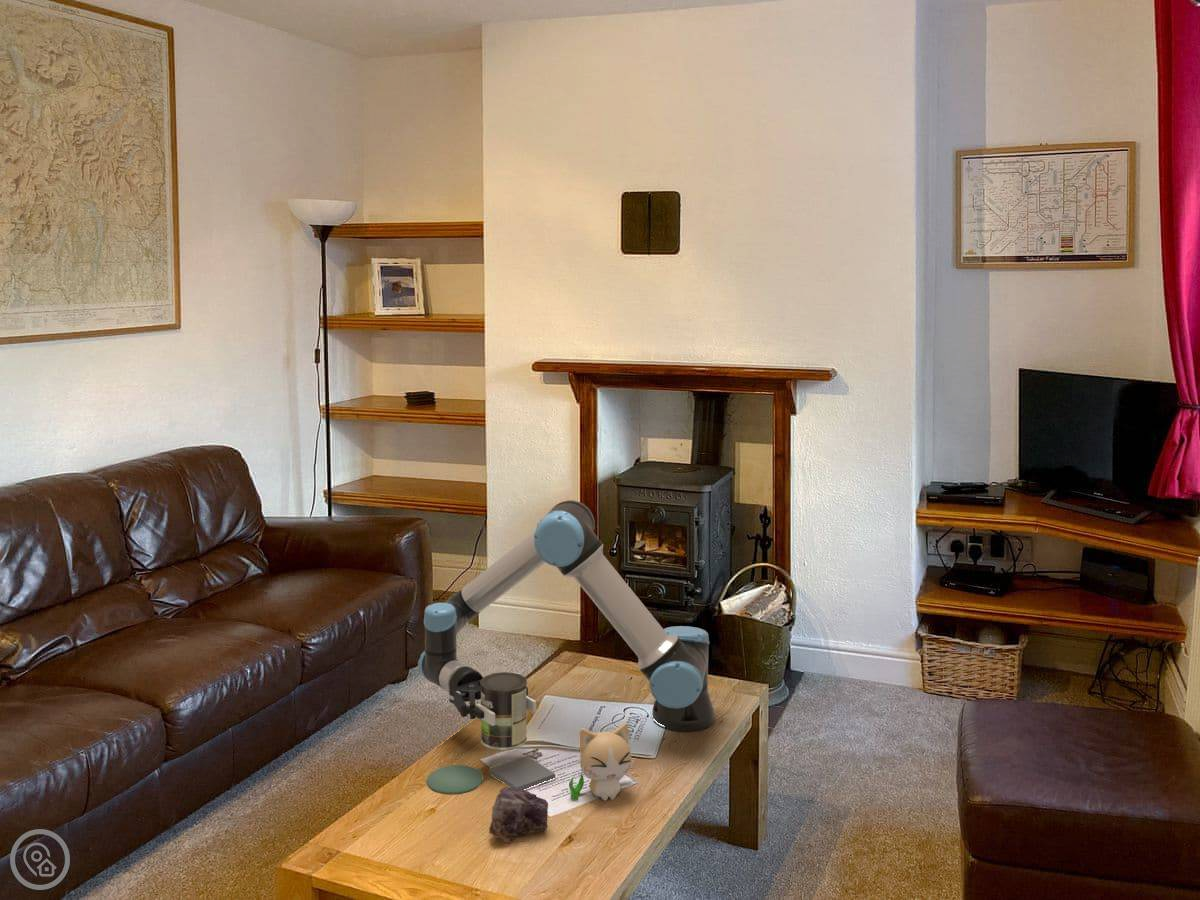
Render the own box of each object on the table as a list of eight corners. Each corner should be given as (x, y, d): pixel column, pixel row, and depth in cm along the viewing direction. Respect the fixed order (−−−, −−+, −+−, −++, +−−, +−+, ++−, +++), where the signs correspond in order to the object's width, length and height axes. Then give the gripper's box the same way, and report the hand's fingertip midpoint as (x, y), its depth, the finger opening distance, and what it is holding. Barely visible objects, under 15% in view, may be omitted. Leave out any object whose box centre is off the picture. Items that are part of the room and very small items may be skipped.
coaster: (494, 778, 244) (494, 775, 244) (455, 799, 234) (455, 797, 234) (454, 762, 251) (454, 760, 251) (415, 782, 241) (415, 780, 241)
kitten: (575, 810, 230) (575, 742, 228) (563, 787, 240) (563, 722, 237) (644, 800, 235) (645, 733, 232) (629, 778, 244) (630, 714, 241)
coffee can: (490, 754, 242) (489, 693, 239) (474, 735, 251) (473, 676, 249) (534, 745, 246) (533, 685, 244) (517, 727, 256) (517, 669, 253)
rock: (549, 844, 220) (533, 818, 229) (555, 804, 219) (539, 779, 228) (492, 847, 215) (478, 820, 224) (499, 806, 214) (484, 781, 223)
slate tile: (489, 768, 246) (516, 787, 237) (526, 755, 252) (555, 773, 243) (489, 775, 246) (517, 795, 237) (526, 762, 252) (555, 781, 243)
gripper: (502, 685, 269) (556, 716, 251) (419, 708, 255) (470, 743, 238) (502, 655, 267) (556, 684, 250) (418, 677, 254) (469, 710, 236)
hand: (514, 713), depth 244 cm, fingers closed on coffee can, 10 cm apart
